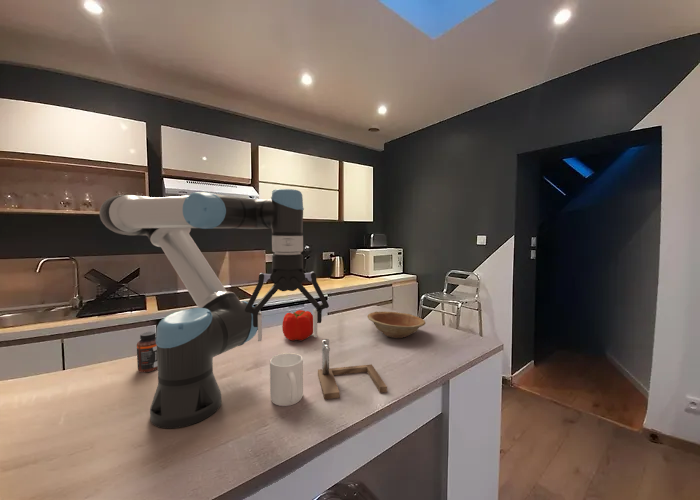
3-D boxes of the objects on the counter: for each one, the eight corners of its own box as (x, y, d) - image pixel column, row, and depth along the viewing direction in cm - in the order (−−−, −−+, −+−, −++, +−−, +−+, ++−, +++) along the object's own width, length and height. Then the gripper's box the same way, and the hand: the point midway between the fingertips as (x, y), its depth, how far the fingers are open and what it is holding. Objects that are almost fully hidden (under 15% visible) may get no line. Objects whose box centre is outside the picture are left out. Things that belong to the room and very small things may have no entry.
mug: (311, 410, 74) (310, 369, 73) (276, 419, 70) (275, 375, 70) (298, 387, 84) (298, 351, 84) (268, 393, 81) (267, 355, 80)
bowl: (431, 346, 115) (431, 325, 115) (368, 345, 116) (368, 324, 115) (418, 326, 139) (418, 309, 138) (366, 326, 139) (366, 308, 139)
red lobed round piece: (298, 330, 133) (298, 306, 132) (321, 336, 125) (321, 311, 124) (274, 339, 122) (273, 313, 121) (297, 346, 114) (297, 319, 113)
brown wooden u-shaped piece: (324, 399, 78) (324, 393, 78) (317, 374, 92) (317, 369, 92) (386, 392, 82) (386, 386, 82) (371, 369, 96) (371, 364, 96)
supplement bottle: (163, 368, 95) (161, 333, 95) (140, 375, 91) (139, 338, 90) (157, 363, 99) (156, 329, 99) (135, 369, 95) (134, 333, 94)
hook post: (324, 381, 85) (324, 346, 84) (321, 372, 90) (321, 339, 90) (331, 380, 85) (331, 345, 84) (328, 371, 91) (328, 338, 90)
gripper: (231, 254, 69) (233, 346, 70) (340, 253, 74) (339, 338, 76) (236, 252, 76) (237, 335, 77) (334, 251, 82) (334, 329, 83)
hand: (288, 337), depth 76 cm, fingers open, 13 cm apart
